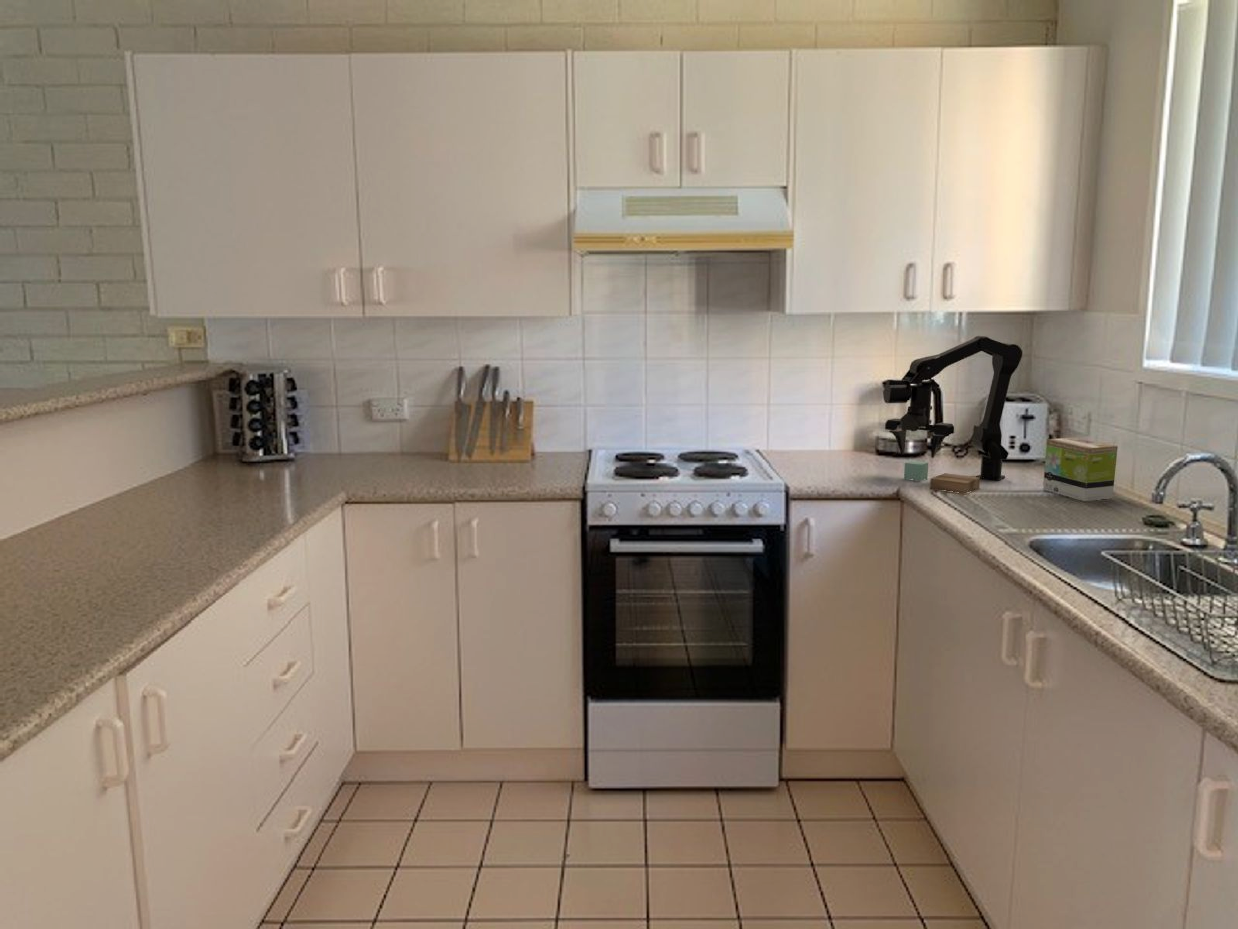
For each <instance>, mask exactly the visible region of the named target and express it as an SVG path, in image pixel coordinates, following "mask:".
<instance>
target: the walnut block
mask: <svg viewBox="0 0 1238 929" xmlns="http://www.w3.org/2000/svg"><path fill="white" fill-rule="evenodd" d="M929 481H930V484H929V490H931V489H932V491H938V490H946V491H953V492H959V493H967V492H970V491H972V490H975V491H977V490H979V489H980V484H981V483H980V482H981V478H979V477H976V476H969V475H962V474H961V475H960V474H956V473H955V474H953V473H948V472H947V473H942V474H938V475H937V476H933V477H931V478H930V480H929ZM972 492H973V491H972ZM959 493H958V494H959ZM970 493H971V492H970Z"/></svg>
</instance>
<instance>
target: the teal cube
mask: <svg viewBox="0 0 1238 929" xmlns="http://www.w3.org/2000/svg"><path fill="white" fill-rule="evenodd" d="M928 474H929V462H927V461H918V460H910V461H907V462H904V473H903V480H905V479H913V480H917V481H916V482H922V481H921V480H923V481H925V480H924V479H926V480H928V476H929V475H928ZM913 480H912V481H913Z"/></svg>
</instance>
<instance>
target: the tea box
mask: <svg viewBox="0 0 1238 929" xmlns="http://www.w3.org/2000/svg"><path fill="white" fill-rule="evenodd" d="M1118 447H1119V445H1116V444H1115V445H1114V444H1109V443H1105V442H1098V441H1095V440H1090V439H1085V438H1080V437H1074V436H1073V437H1062V438H1061V437H1060V438H1050V439H1048V438H1047V440H1046V449H1045V461H1044V462H1045V463H1044V472H1043V482H1042V483H1043V484H1042V487H1043V488H1042V490H1043V491H1045V490H1046V491H1047V492H1049V493H1050V492H1051V493H1055V494H1058V495H1061V496H1065V497H1067V496H1068V498H1070V499H1075V500H1077V501H1080V500H1082V501H1081V502H1083V501H1087V500H1098V501H1101V500H1100V499H1107V500H1111V499H1110V498H1112V499H1113V495H1114V487H1115V486H1114V485H1115V479H1116V478H1115V476H1116V468H1117V467H1116V466H1117V460H1118V459H1117V457H1118V456H1117V455H1118Z"/></svg>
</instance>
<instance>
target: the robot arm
mask: <svg viewBox="0 0 1238 929" xmlns="http://www.w3.org/2000/svg"><path fill="white" fill-rule="evenodd" d="M980 352H982V353H985V354H987V355H990V356H992V358H991V364H992V370H993V375H992V380H991V384H990V388H989V389H990V390H989V393H988V397H987V401H986V405H985V411H984V416H983V418H982V422H980V424H979V425H974V426H973V430H972V431H973V432H972V435H971V437H970V440H972V441H971V443H972V445H973V446H972V447H974V449H975V450H976V452H977V455H979V456H981V461H980V462H981V463H980V474H977V475H976V476H975V477H979V478H980V479H985V480H992V481H1000V480H1002V479H1004V478H1006V475H1002V472H1003V470H1002V468H1003V460H1004V461H1006V460H1007V459H1008V457H1009V454H1010V453H1009V451H1008V450H1007V449H1006V448H1005V447H1004V446H1003V445H1002V439H1003V437H1002V435H1003V434H1002V430H1001V429H1002V428H1001V420H1002V417H1003V412H1004V409H1005V408H1004V407H1005V405H1006V404H1005V403H1006V400H1007V395H1008V391H1009V387H1010V382H1011V378H1012V376H1013V374H1014V373H1015V371H1016V370H1017V369H1018V367H1019V365H1020V362H1021V360H1022V359H1023V349H1022V348H1021V347H1020V345H1018V344H1014V343H1007V342H1000V341H998V340H995V339H992V338H990V337H988V336H987V335H986V336H983V335H977V336H975V337H974V338H972V339H969V340H968V341H965V342H963V343H960V344H958V345H955V346H954V347H952V348H950V349H947V350H945V351H942V352H940V353H938V354H935V355H934V354H933V355H928V356H924V357H920V358H916V359H914V360H913V361H912V362H911V363H910V365H909V369H908V370H907V372H906V373H905V374H904V376H903V377H902V378H901V379H887V380H886V384H885V385H884V389H883V391H882V394H883V396H882V397H883V401H884V403H886V404H906V403H908V401H909V402H910V403H909V406H907V410H906V413H905V414H904V415H903V416H901V418H890V419H887V420H886V421H885V423H884V424H885V425H884V429H885V430H888V432H889V433H891V434H892V435H893V436H894V438H895V440H896V442H897V445H898V448H899V451H900V455H904V454H905V449H906V442H907V440H906V438H907V431H911V432H917V431H918V430H919V431H925V432H926V431H928V432H933V434H932V435H931V439H932V444H931V451H930V452H931V457H930V458H931V459H934V458H935V456H936V454H937V452H938V450H939V448H940V447H941V444H942V442H943V441H944V440H945V438H946V437H949V436H950V435H952V434H954V433H955V426H954V424H953V423H945V422H939V423H934V424H932V419H931V411H932V410H933V405H932V404H931V403H932V391H933V388H935V389H936V388H940V384H938V383H937V382H936V381H935V380H936V379H934V377H936V376H938V375H939V374H940V373H941V372H942V371H943V370H944V369H946V368H948V367H949V366H951V365H954V364H957V363H958V362H960V361H962V360H965V359H967V358H970V357H971V356H973V355H977V354H978V353H980Z"/></svg>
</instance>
